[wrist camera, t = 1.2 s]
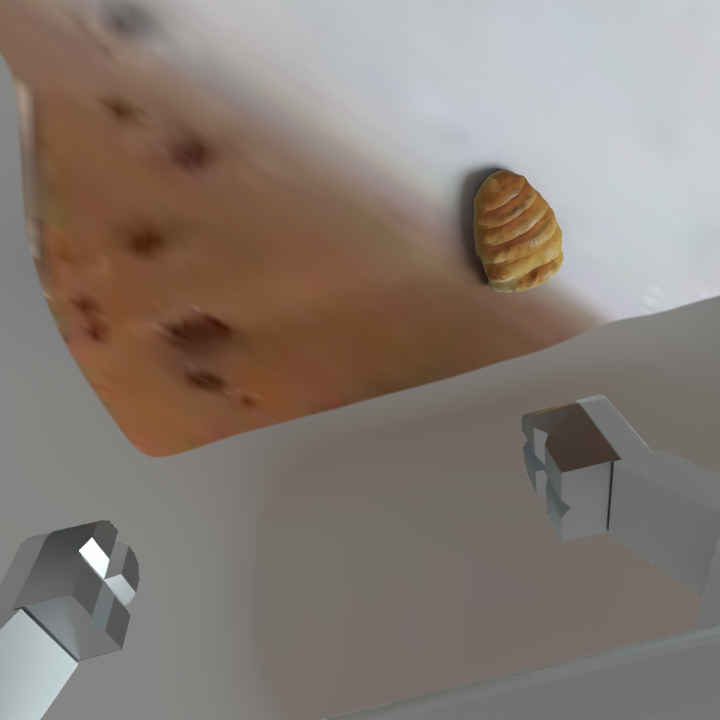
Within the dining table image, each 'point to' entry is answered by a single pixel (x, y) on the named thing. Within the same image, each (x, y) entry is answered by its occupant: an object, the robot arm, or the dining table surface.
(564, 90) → the dining table surface
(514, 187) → the pastry
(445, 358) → the dining table surface
